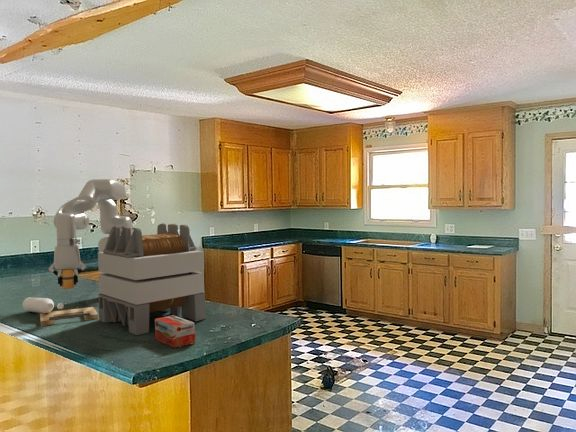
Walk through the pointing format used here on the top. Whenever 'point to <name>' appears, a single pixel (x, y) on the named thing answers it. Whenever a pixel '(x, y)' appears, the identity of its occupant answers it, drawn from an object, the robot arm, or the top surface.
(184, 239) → the transformer
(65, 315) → the oak frame
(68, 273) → the banded orange cylinder
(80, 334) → the top surface
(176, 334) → the medicine box
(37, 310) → the water bottle
